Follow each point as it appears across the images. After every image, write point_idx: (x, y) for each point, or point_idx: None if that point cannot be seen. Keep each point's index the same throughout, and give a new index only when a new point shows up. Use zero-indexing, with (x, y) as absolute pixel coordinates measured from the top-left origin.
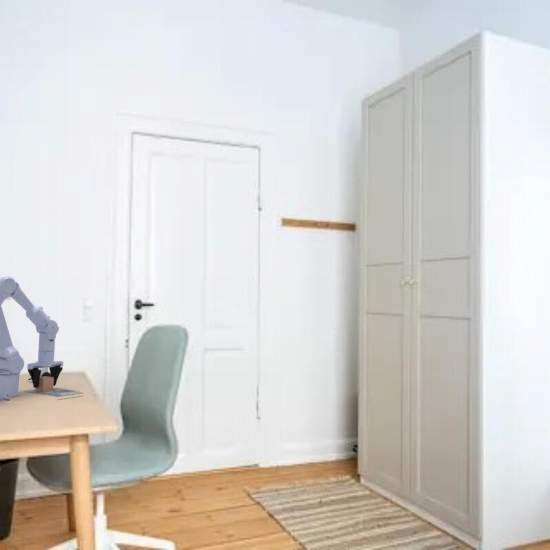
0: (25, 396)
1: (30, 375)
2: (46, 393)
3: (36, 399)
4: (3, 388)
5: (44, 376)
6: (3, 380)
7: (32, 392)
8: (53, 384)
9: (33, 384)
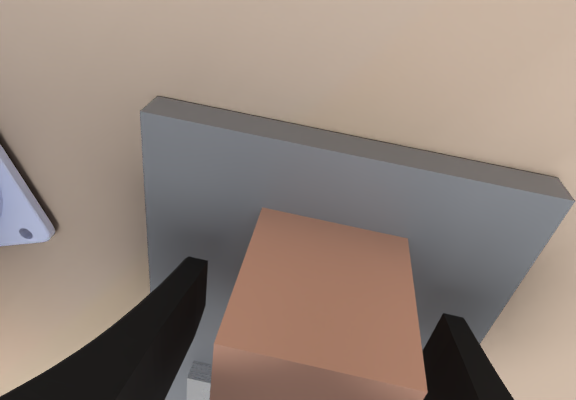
0: (102, 210)
1: (52, 373)
2: (193, 367)
3: (92, 339)
4: None
5: (384, 385)
6: None
7: (153, 257)
8: (427, 360)
9: (166, 285)
